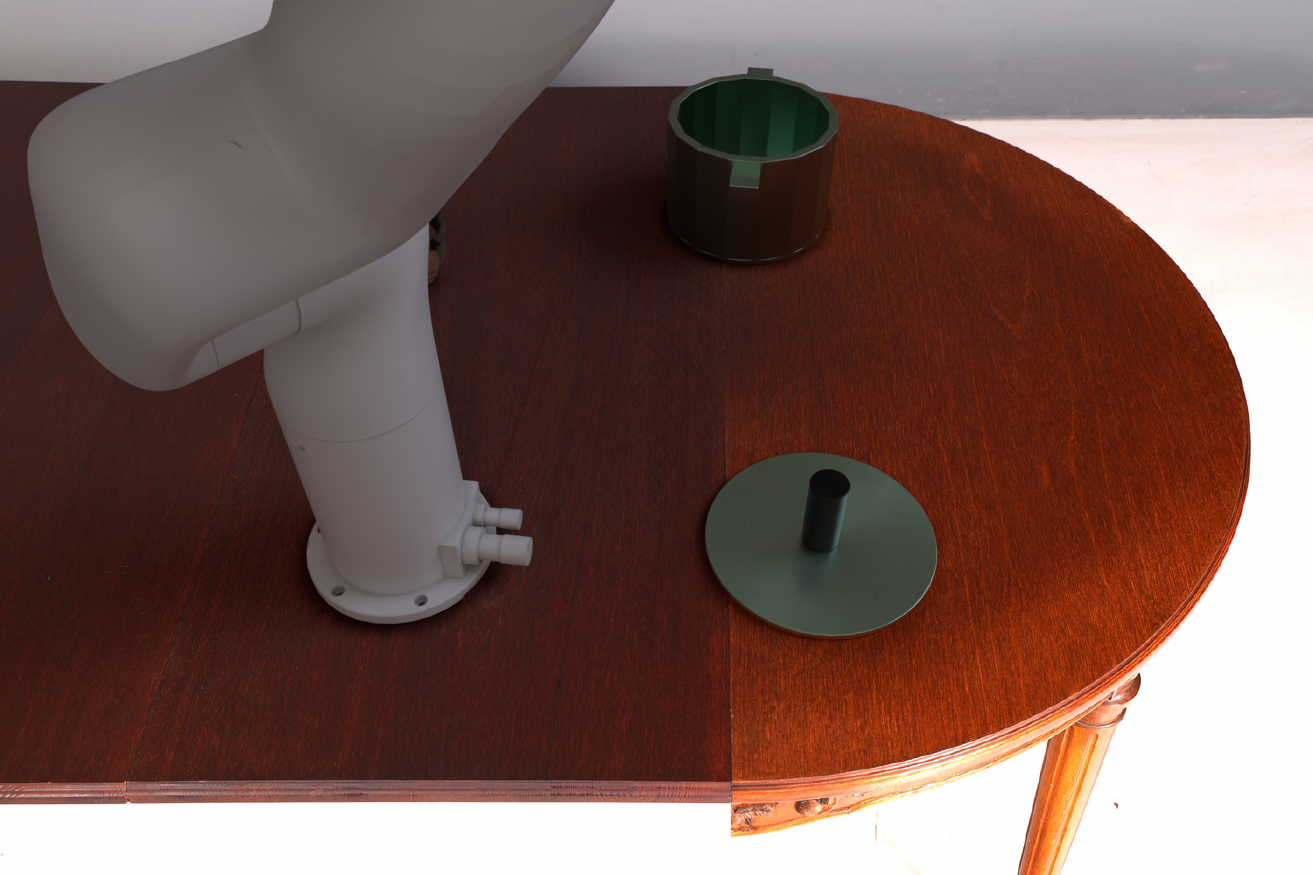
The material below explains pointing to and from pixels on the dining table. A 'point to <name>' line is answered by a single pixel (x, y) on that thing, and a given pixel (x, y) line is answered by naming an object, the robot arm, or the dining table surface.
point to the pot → (749, 166)
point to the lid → (820, 545)
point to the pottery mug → (437, 246)
